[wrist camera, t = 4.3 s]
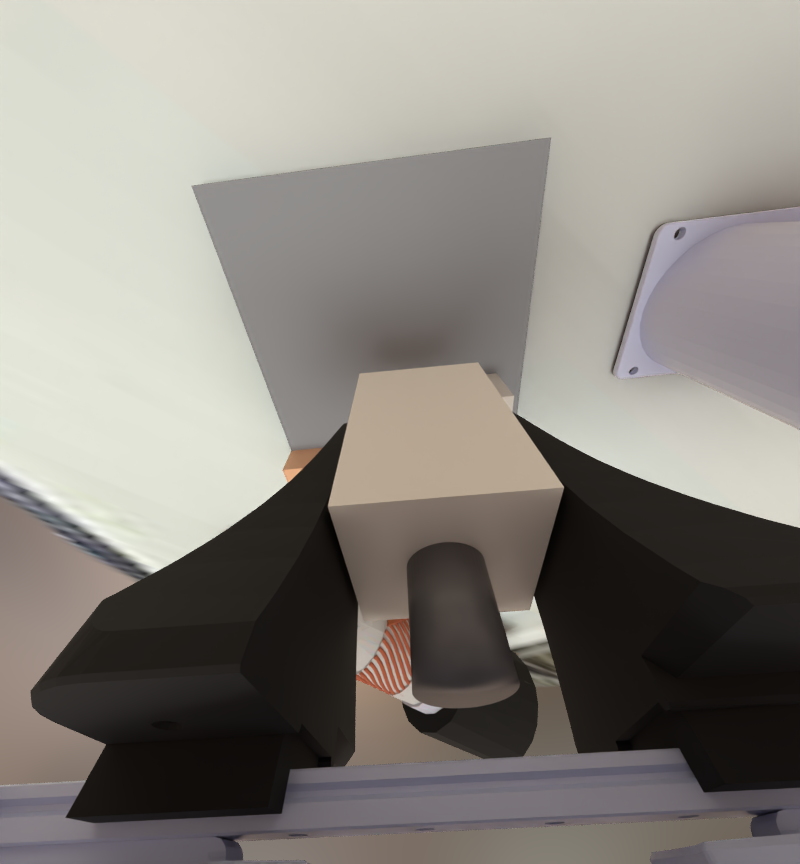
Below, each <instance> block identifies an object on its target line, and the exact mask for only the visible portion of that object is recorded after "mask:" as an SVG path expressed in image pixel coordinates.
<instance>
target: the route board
mask: <svg viewBox="0 0 800 864" xmlns="http://www.w3.org/2000/svg"><path fill="white" fill-rule="evenodd" d="M550 141H551V138H543V139H536V140H529V141H521V142H514V143H506V144H499V145H491V146H484V147H476V148H469V149H462V150H454V151H447V152H439V153H432V154H424V155H417V156H410V157H402V158H395V159H387V160H380V161H372V162H365V163H358V164H350V165H343V166H335V167H328V168H320V169H313V170H305V171H298V172H291V173H283V174H276V175H268V176H261V177H253V178H246V179H239V180H231V181H224V182H216V183H209V184H201V185H194V186H192V188H193V191H194V194H195V196H196V199H197V202H198V204H199V207H200V210H201V212H202V215H203V217H204V220H205V223H206V225H207V228H208V231H209V233H210V236H211V239H212V241H213V244H214V247H215V249H216V252H217V255H218V257H219V260H220V263H221V265H222V268H223V270H224V273H225V276H226V278H227V281H228V284H229V286H230V289H231V292H232V294H233V297H234V300H235V302H236V305H237V308H238V310H239V313H240V316H241V318H242V321H243V323H244V326H245V329H246V331H247V334H248V337H249V339H250V342H251V345H252V347H253V350H254V353H255V355H256V358H257V361H258V363H259V366H260V368H261V371H262V374H263V376H264V379H265V382H266V384H267V387H268V390H269V392H270V395H271V398H272V400H273V403H274V406H275V408H276V411H277V414H278V416H279V419H280V421H281V424H282V427H283V429H284V432H285V435H286V437H287V440H288V443H289V445H290V448H291V451H295V450H304V449H314V448H323V447H324V446H325V445H326V443H327V442H328V441H329V440H330V439H331V438H332V436H333V435H334V434H335V433H336V432H337V431H338V430H339V428H340V427H341V426H342V425H343V424H344V423H348V420H349V416H350V412H351V407H352V403H353V399H354V395H355V391H356V387H357V382H358V378H359V374H360V373H371V372H381V371H392V370H403V369H413V368H424V367H434V366H445V365H455V364H466V363H476V362H478V363H479V365H480V366H481V367H482V369H483V370H484V372H485V373H486V374H494V373H497V375H498V376H499V377H500V378H501V380H502V381H503V382H504V384H505V385H506V386H507V387H508V389H509V390H510V391H511V392H512V394H513V395H514V402H513V411H512V412H513V413H515V414H517V408H518V400H519V392H520V384H521V376H522V367H523V359H524V351H525V343H526V335H527V327H528V319H529V311H530V303H531V295H532V287H533V279H534V270H535V262H536V254H537V246H538V238H539V230H540V222H541V214H542V206H543V198H544V190H545V181H546V173H547V165H548V157H549V149H550Z"/></svg>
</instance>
